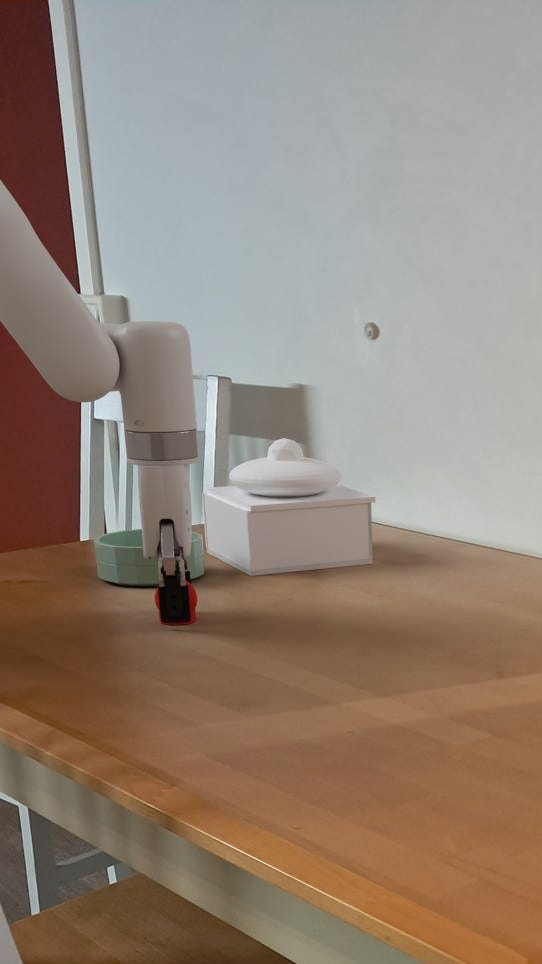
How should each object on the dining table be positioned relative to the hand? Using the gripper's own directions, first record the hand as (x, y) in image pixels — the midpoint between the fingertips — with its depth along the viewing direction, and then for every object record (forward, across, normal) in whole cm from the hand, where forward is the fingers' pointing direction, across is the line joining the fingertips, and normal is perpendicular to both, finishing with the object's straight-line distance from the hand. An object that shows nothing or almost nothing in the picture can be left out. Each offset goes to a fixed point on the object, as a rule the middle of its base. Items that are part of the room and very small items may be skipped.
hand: (177, 612), depth 142 cm
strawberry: (+1, 0, 0) cm, 1 cm away
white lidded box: (+1, -34, +14) cm, 37 cm away
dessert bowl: (+1, -24, -4) cm, 24 cm away
